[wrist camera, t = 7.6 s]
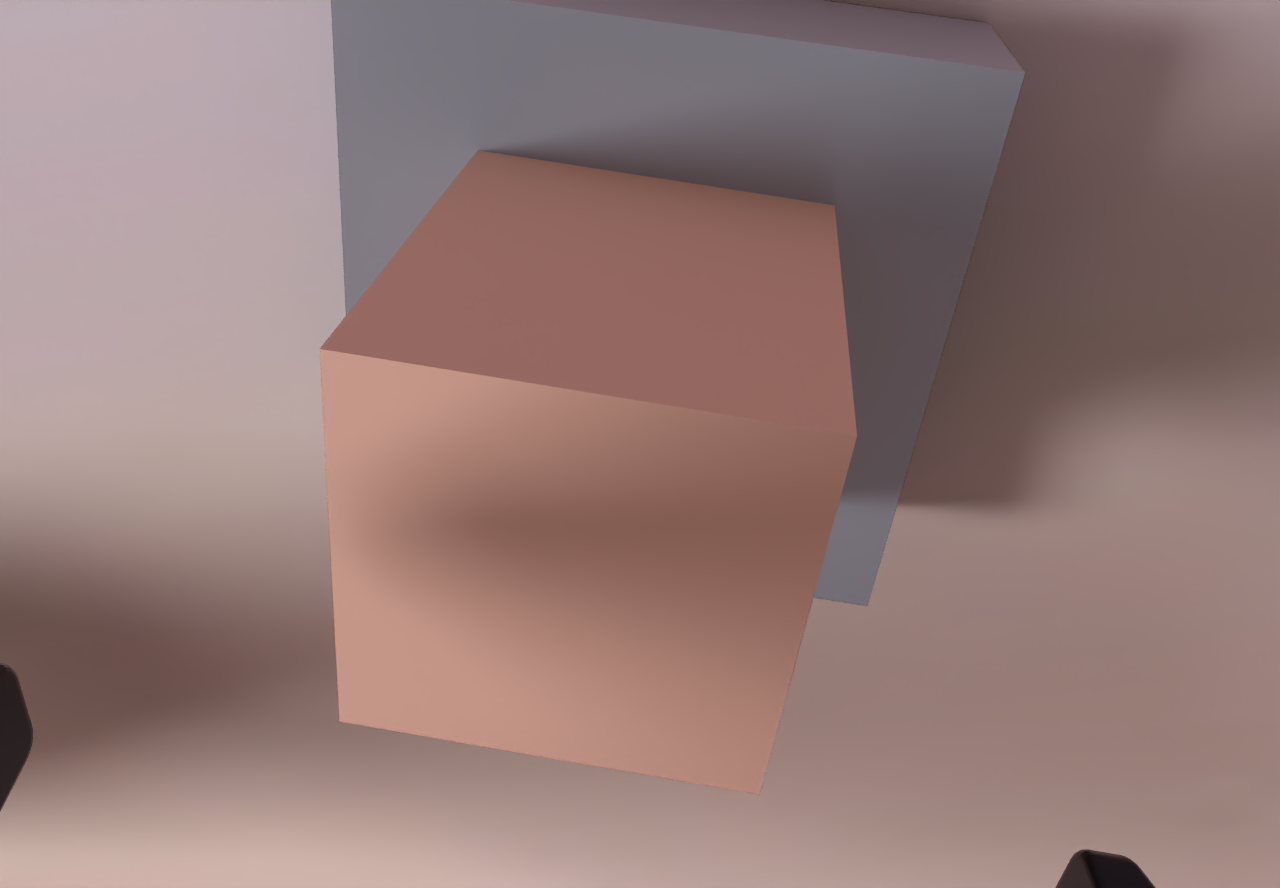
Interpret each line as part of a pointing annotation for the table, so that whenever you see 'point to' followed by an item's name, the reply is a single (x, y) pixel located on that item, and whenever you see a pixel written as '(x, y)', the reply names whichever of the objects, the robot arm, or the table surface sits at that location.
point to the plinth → (709, 156)
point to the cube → (588, 468)
